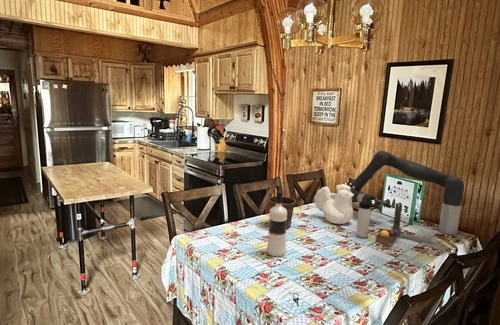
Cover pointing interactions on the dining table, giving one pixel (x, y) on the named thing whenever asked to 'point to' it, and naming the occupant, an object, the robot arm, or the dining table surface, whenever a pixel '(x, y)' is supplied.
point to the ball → (384, 233)
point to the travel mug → (363, 219)
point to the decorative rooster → (335, 204)
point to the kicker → (396, 221)
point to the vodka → (277, 228)
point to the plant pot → (287, 204)
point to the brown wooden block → (384, 237)
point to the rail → (414, 238)
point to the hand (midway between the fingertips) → (384, 207)
